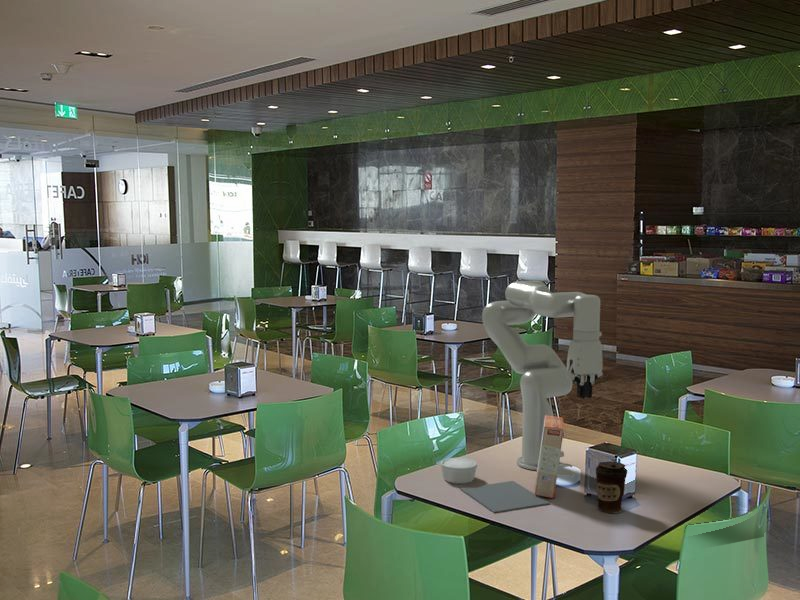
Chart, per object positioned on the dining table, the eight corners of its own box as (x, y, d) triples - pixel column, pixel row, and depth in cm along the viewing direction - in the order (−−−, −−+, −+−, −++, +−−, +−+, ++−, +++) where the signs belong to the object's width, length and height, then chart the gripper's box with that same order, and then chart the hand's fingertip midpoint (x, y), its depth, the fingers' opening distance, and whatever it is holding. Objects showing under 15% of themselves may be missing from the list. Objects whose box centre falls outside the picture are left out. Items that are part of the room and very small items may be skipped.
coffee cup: (621, 518, 211) (622, 471, 210) (590, 512, 215) (592, 466, 214) (628, 507, 218) (630, 462, 217) (599, 502, 223) (600, 457, 221)
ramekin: (435, 474, 246) (436, 458, 246) (469, 472, 249) (469, 455, 248) (446, 486, 235) (447, 469, 235) (481, 483, 238) (482, 466, 238)
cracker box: (555, 499, 225) (564, 429, 222) (534, 496, 226) (543, 425, 223) (555, 483, 238) (564, 416, 236) (535, 480, 239) (544, 413, 237)
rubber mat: (512, 482, 239) (513, 480, 239) (549, 504, 221) (549, 502, 221) (460, 489, 232) (460, 488, 232) (493, 513, 214) (493, 511, 214)
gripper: (600, 333, 239) (598, 392, 241) (556, 336, 233) (554, 396, 235) (615, 336, 232) (613, 397, 234) (571, 339, 226) (569, 402, 228)
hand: (584, 396), depth 234 cm, fingers closed
